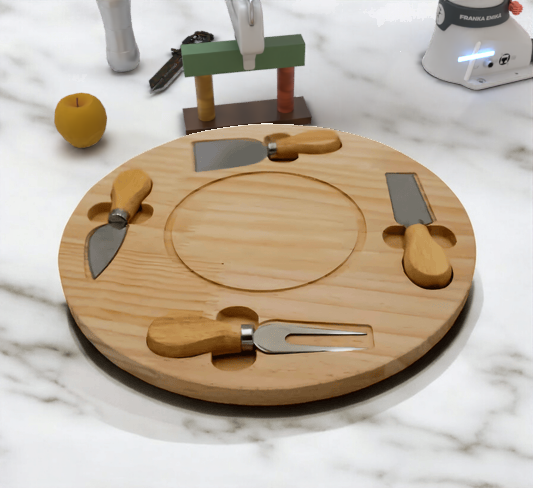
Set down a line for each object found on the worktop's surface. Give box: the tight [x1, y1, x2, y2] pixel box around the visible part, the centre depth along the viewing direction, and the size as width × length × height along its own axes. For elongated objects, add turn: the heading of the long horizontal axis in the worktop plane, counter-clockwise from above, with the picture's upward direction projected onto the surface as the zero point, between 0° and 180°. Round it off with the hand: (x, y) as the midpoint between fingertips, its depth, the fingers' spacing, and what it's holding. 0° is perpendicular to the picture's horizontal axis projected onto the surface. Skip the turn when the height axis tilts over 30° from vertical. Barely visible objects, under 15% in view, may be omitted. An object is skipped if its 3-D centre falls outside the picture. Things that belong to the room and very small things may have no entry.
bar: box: [180, 33, 306, 78], centre depth 107 cm, size 20×4×4 cm, turn 100°
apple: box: [53, 92, 108, 149], centre depth 108 cm, size 8×8×9 cm
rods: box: [182, 67, 313, 136], centre depth 112 cm, size 22×7×10 cm, turn 100°
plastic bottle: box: [95, 0, 141, 73], centre depth 123 cm, size 6×7×20 cm
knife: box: [148, 30, 215, 95], centre depth 130 cm, size 25×6×1 cm, turn 154°
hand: (244, 53), depth 107 cm, fingers open, 8 cm apart
